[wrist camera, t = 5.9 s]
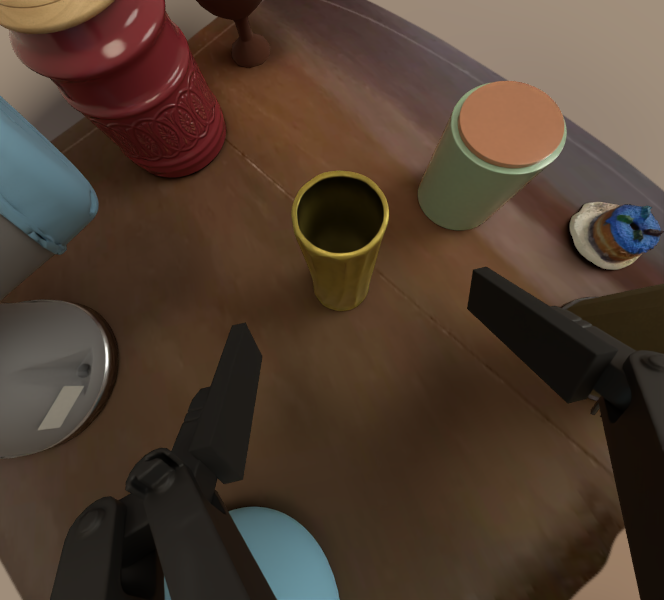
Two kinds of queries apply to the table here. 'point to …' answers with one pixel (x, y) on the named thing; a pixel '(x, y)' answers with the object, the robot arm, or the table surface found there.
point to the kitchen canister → (123, 76)
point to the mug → (490, 152)
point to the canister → (626, 318)
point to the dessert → (614, 233)
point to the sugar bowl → (284, 555)
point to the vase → (340, 234)
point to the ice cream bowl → (241, 30)
